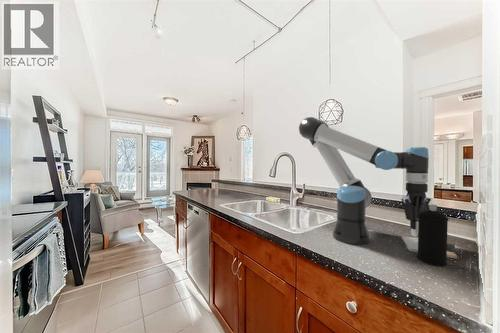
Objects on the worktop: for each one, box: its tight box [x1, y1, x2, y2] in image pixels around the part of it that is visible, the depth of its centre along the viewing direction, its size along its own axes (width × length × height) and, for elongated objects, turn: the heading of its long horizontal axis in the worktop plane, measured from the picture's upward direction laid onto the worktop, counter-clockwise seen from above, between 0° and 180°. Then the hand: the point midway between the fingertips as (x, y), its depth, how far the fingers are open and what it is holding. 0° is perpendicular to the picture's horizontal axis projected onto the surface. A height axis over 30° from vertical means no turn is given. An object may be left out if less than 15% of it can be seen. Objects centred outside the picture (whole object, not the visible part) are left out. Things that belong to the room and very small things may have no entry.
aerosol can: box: [416, 203, 449, 267], centre depth 73 cm, size 8×8×20 cm
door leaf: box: [447, 242, 458, 260], centre depth 83 cm, size 8×15×4 cm, turn 153°
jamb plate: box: [401, 235, 418, 253], centre depth 87 cm, size 7×15×1 cm, turn 153°
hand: (415, 235), depth 91 cm, fingers closed
